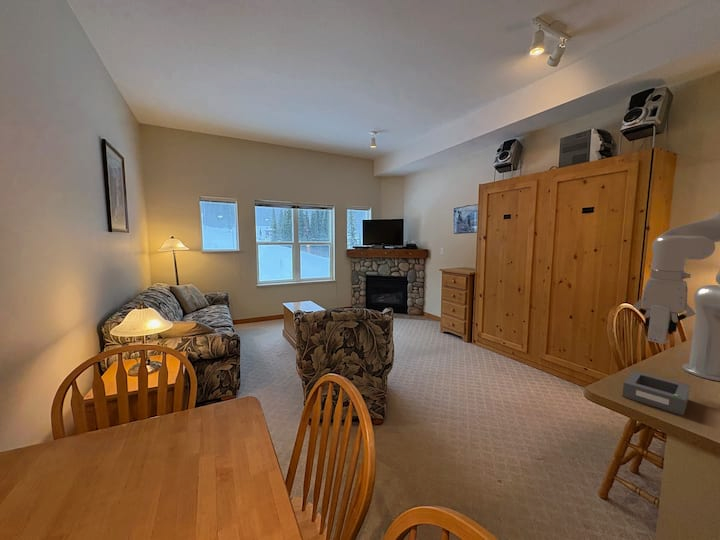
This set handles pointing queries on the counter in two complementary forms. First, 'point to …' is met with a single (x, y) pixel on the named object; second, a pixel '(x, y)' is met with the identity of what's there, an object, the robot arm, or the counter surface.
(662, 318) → the skincare box
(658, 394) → the port block
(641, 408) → the counter surface
